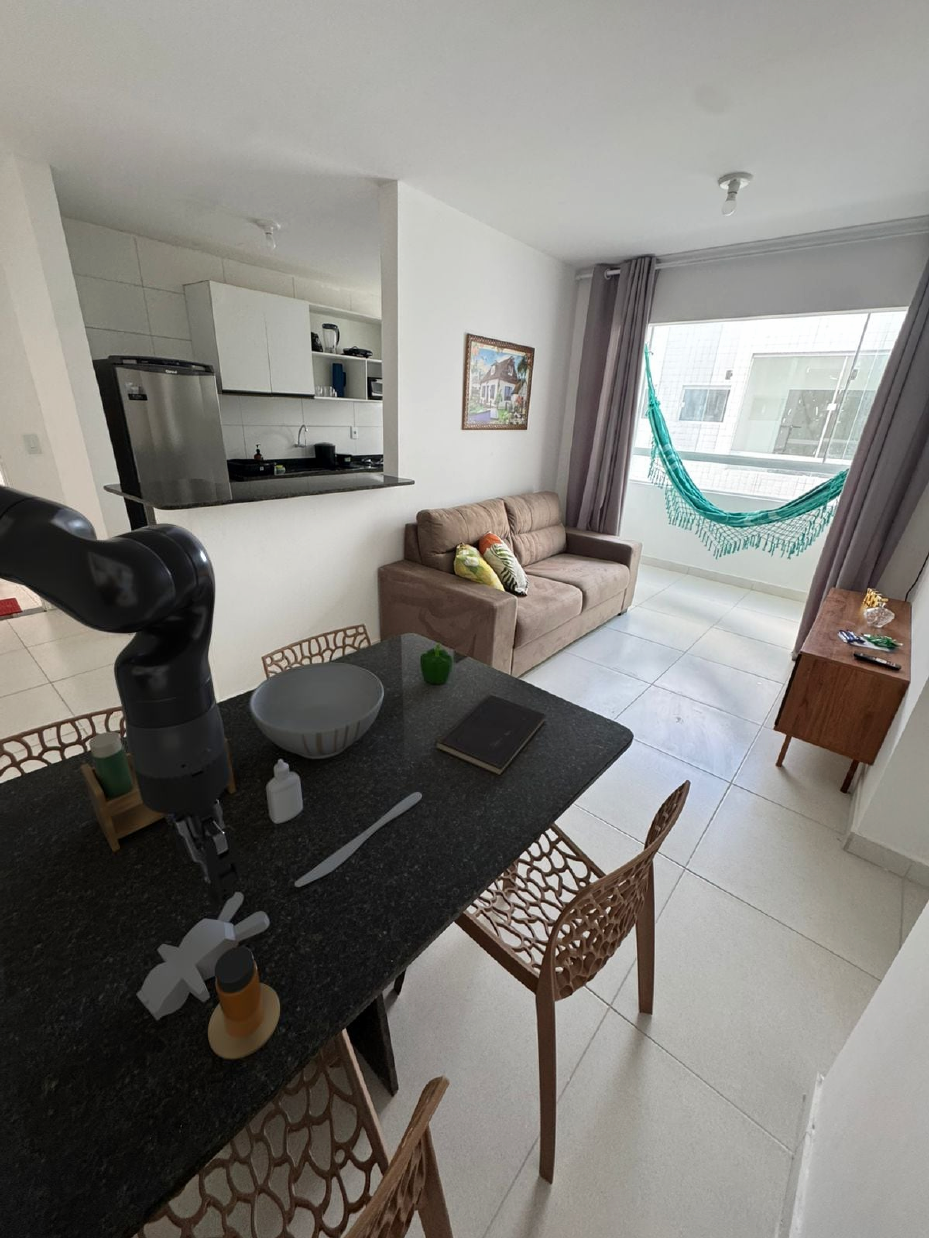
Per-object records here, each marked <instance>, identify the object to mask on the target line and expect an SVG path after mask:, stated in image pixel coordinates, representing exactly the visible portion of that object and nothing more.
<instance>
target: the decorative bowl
mask: <svg viewBox="0 0 929 1238" xmlns="http://www.w3.org/2000/svg"><path fill="white" fill-rule="evenodd" d="M384 693H385V689H384V685H383V683H382V681H381V680H380V678H379V677H378V676H377V675H376V674H374V673H372V672H371V671H369V670H367V669H365V668H363V667H361V666H358V665H354V664H349V663H343V662H331V661H329V662H315V663H314V662H313V663H306V664H301V665H297V666H294V667H293V666H292V667H289V668H287V669H284V670H281V671H279V672H277V673H275V674H273V675H271V676H269V677H268V678H266V679H265V680H263V681H262V682H261V683H260V684H259V685H258V686H257V687H256V688H255V689H254V690H253V691H252V693H251V695H250V698H249V701H248V702H249V703H248V707H249V711H250V715H251V716H252V719H253V721H254V722H255V724H256V725H257V727H258V728H259V730H260V731H261V733H263V735H264V736H266V738H267V739H269V740H270V741H271V742H272V743H273V744H274V745H276V746H278V747H279V748H281V749H283V750H285V751H287V752H289V753H293V754H296V755H299V756H300V757H303V758H306V759H312V760H315V759H316V760H320V759H327V758H331V757H334V756H336V755H339V754H340V753H342V752H344V751H345V750H346V749H347V748H349V747H350V746H352V745H353V744H355V743H356V742H357V741H358V740H360V739H361V738H362V737H363V736H364V735H365V734H366V733H367V732H368V730H369V729H370V728H371V726H372V725H373V723H374V722H375V720H376V718H377V716H378V714H379V712H380V710H381V707H382V704H383V699H384Z"/></svg>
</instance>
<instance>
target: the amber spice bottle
mask: <svg viewBox="0 0 929 1238" xmlns="http://www.w3.org/2000/svg"><path fill="white" fill-rule="evenodd" d="M254 959H255V958H254V955H253V952H252V950H251V949H249V948H248V947H246V946H237V947H234V948H232V949H230V950H228V951H226V952H225V953H224V954H223V955H222V956H221V957H220V958H219V960H218V961H217V963H216V966H215V975H214V977H215V983H214V984H215V985H214V986H215V989H216V994H217V999H218V1002H219V1003H220V1007H221V1011H222V1015H223V1019H224V1024H225V1028H226V1031H227V1032H228V1034H229V1035H231V1036H233V1037H237V1038H239V1037H244V1036H247V1035H249V1034H251V1033H252V1032H253V1031H254V1030H256V1028H257V1027H258V1026H259V1025H260V1023H261V1021H262V1019H263V1017H264V1003H263V997H262V992H261V986H260V983H261V982H260V975H259V971H258V964H257V962H256V961H255V960H254ZM219 1003H218V1004H219Z"/></svg>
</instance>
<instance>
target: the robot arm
mask: <svg viewBox="0 0 929 1238" xmlns="http://www.w3.org/2000/svg"><path fill="white" fill-rule="evenodd" d="M0 579H1V580H3V581H6V582H10V583H14V584H17V585H20V586H24V587H25V588H27V589H29V590H30V591H31V592H33V593H34V594H35V595H37V596H38V597H39V598H41V599H42V600H44V601H46V602H47V603H49V604H50V605H52V606H53V607H55V608H56V609H58V610H60V611H61V612H63V613H64V614H66V615H67V616H69V617H70V618H71V619H73V620H74V621H76V622H77V623H79V624H80V625H83V626H84V627H86V628H89V629H91V630H94V631H97V632H98V631H99V632H102V633H108V634H116V635H117V634H118V635H119V634H121V635H126V634H127V635H129V634H134V636H133V637H132V638H131V640H130V641H129V642H128V643H127V644H126V645H125V646H124V647H123V648H122V649H121V651H120V652H119V653H118V654H117V656H116V658H115V661H114V665H113V674H114V681H115V685H116V690H117V693H118V697H119V701H120V704H121V709H122V713H123V717H124V723H125V735H126V736H125V737H126V738H125V739H126V743H127V747H128V753H129V752H130V756H131V760H132V764H133V768H134V772H135V775H136V779H137V783H138V787H139V791H140V795H141V799H142V801H143V803H144V804H145V805H146V806H147V807H148V808H149V809H151V810H153V811H155V812H158V813H164V815H165V817H164V818H165V820H166V822H167V824H168V825H169V826H170V827H171V829H172V833H173V837H174V841H175V845H176V846H175V847H176V850H177V851H178V853H179V854H180V855H184V854H186V853H187V854H188V857H189V858H190V860H191V861H192V862H195V863H198V865H199V867H200V870H201V872H202V875H203V876H202V878H203V881H204V883H205V887H206V890H207V891H206V892H207V895H208V901H209V903H210V904H211V906H212V907H213V908H217V907H220V906H221V905H223V904H225V903H226V902H227V900H229V899H230V898H232V897H233V896H234V894H235V892H236V889H235V884H234V882H235V881H238V880H239V879H241V878H242V877H243V870H242V866H241V862H240V861H241V860H240V856H239V851H238V846H237V841H236V836H235V835H236V834H235V833H236V832H235V829H234V828H233V827H232V825H230V824H229V825H227V826H226V825H225V822H224V819H223V815H224V811H223V808H222V807H221V806H222V805H221V803H220V802H219V800H218V799H219V797H220V796H221V794H222V793H223V792H224V791H225V790H226V786H227V785H228V782H229V780H230V767H229V761H228V754H227V748H226V742H225V738H226V736H225V735H226V734H225V729H224V723H223V718H222V714H221V711H220V709H219V708H220V707H219V705H218V703H217V698H216V693H215V686H214V681H213V674H212V668H211V664H210V660H209V659H210V658H209V653H210V645H211V640H212V634H213V625H214V615H215V605H216V604H215V603H216V590H217V589H216V574H215V570H214V566H213V562H212V559H211V557H210V556H209V553H208V551H207V550H206V548H205V546H204V545H203V543H202V542H201V541H200V539H199V538H198V537H197V536H195V535H194V534H193V533H192V532H190V531H189V530H188V529H186V528H184V527H182V526H180V525H177V524H173V523H165V522H164V523H163V522H162V523H154V524H149V525H146V526H143V527H139V528H136V529H134V530H131V531H128V532H125V533H122V534H121V533H120V534H118V535H115V536H112V537H109V538H105V539H98V535H97V531H96V530H95V527H94V526H93V523H91V521H90V520H89V519H88V518H87V517H86V516H85V514H84V515H83V514H82V513H81V512H79V511H77V510H76V509H74V508H73V507H70V506H68V505H65V504H63V503H60V502H57V501H54V500H52V499H48V498H45V497H42V496H39V495H36V494H33V493H29V492H26V491H23V490H19V489H17V488H14V487H10V486H6V485H3V484H0ZM199 846H201V849H199V850H197V847H199Z"/></svg>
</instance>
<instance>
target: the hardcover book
mask: <svg viewBox="0 0 929 1238" xmlns="http://www.w3.org/2000/svg"><path fill="white" fill-rule="evenodd" d="M546 717H547V714H545V713H542V712H540V711H537V710H534V709H531V708H528V707H526V706H523V705H520V704H518V703H516V702H512V701H509V700H507V699H504V698H501V697H499V696H496V695H493V694H490V693H489V694H487V695H486V696H485V697H483V698H482V699H481V700H480V701H479V702H478V703H477V704H476V705H474V707H472V708H471V709H470V710H469V711H468V712H467V713H466V714H465V715H463V716H462V717H461V718H460V719H459V720H458V721H457V722H456V723H455V724H453V725H452V726H451V727H450V729H448V730H447V731H446V732H445V733H444V734H443V735H442V736H441V737H439V738H438V739H437V740H436V741H435V749H436V750H437V751H440V752H442V753H444V754H446V755H447V756H450V757H453V758H454V759H455V758H456V759H458V760H460V761H462V762H464V763H466V764H469V765H471V766H474V767H475V768H478V769H480V770H483V771H484V772H487V773H490V774H492V775H494V776H496V777H498V778H501V777H502V776H503V775H504V774H505V773H506V772H507V770H508V769H509V768H510V766H511V765H512V764H513V763H514V761H516V759H517V758H518V757H519V756H520V755H521V753H522V752H523V751H524V749H525V748H526V747H527V746H528V745H529V744H530V742H531V741H532V740H533V738H534V737H535V736H536V735H537V734H538V733H539V731H540V730H541V729H542V728H543V726H544V725H545V724H546V721H545V718H546Z"/></svg>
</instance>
